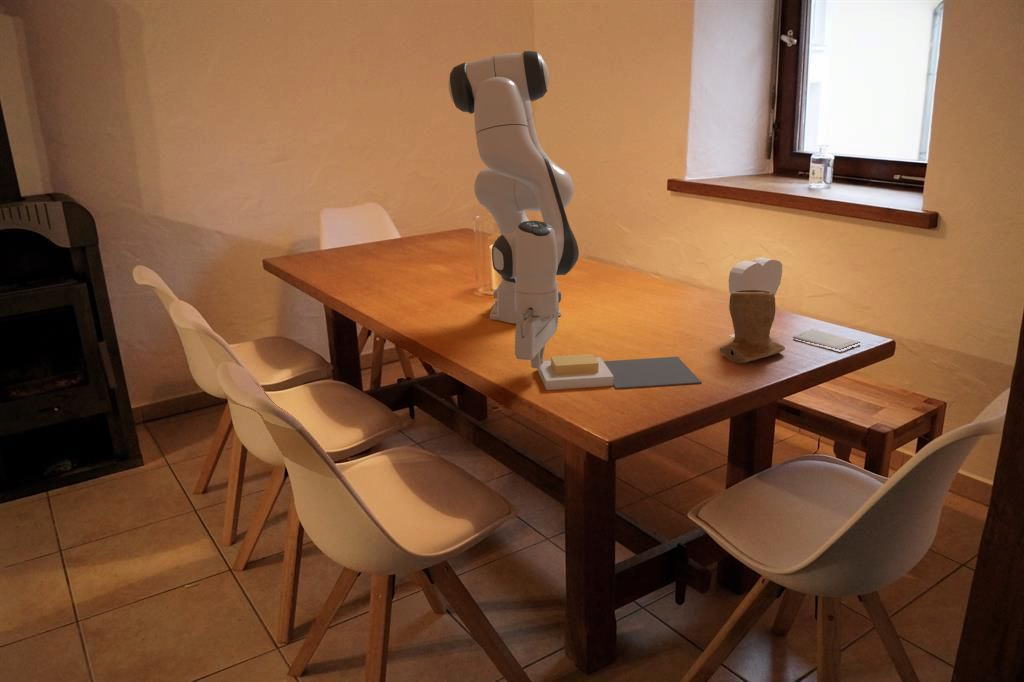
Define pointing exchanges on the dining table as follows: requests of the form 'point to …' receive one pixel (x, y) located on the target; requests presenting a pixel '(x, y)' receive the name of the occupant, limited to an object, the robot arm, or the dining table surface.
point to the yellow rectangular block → (574, 364)
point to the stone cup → (751, 326)
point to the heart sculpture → (756, 275)
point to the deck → (575, 377)
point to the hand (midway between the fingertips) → (537, 366)
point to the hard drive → (825, 339)
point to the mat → (650, 372)
